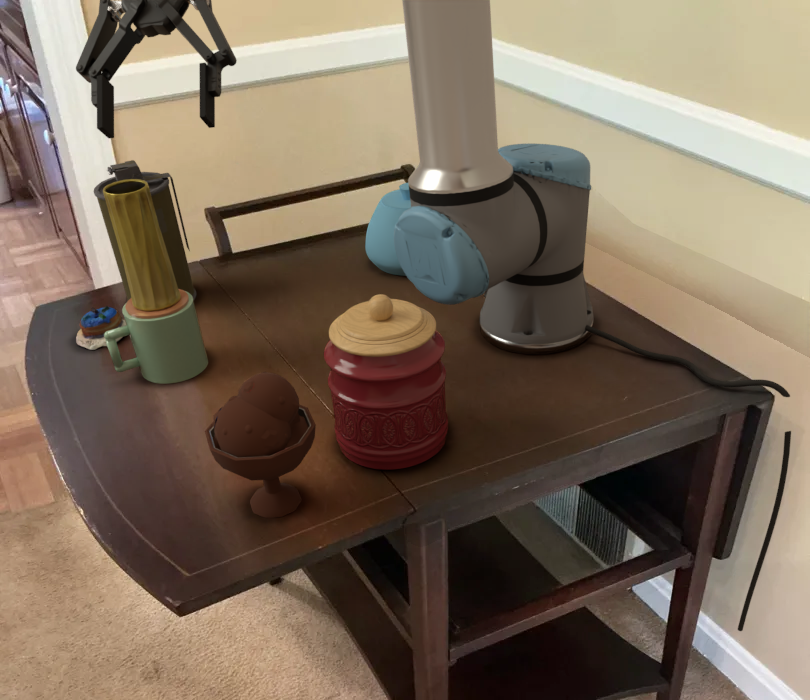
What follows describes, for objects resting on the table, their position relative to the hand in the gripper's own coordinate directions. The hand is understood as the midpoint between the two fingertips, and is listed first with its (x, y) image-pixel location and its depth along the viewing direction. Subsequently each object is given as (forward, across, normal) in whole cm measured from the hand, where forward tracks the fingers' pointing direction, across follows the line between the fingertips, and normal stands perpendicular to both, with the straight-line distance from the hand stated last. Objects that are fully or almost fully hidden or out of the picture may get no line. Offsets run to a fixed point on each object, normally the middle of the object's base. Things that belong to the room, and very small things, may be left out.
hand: (155, 128), depth 104 cm
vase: (+20, +2, -3) cm, 21 cm away
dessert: (+21, +16, -15) cm, 31 cm away
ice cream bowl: (+47, -19, +10) cm, 52 cm away
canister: (+14, +11, -24) cm, 30 cm away
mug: (+28, +3, -9) cm, 29 cm away
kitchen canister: (+40, -30, +1) cm, 50 cm away
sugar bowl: (+6, -26, -36) cm, 45 cm away
